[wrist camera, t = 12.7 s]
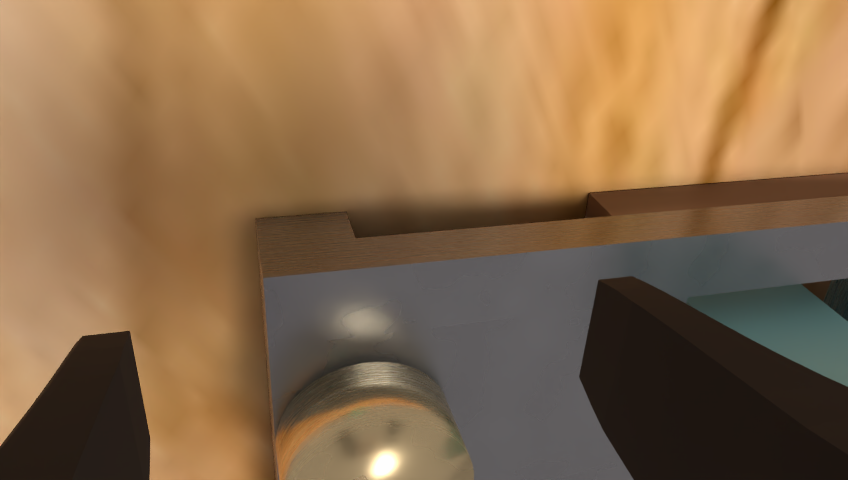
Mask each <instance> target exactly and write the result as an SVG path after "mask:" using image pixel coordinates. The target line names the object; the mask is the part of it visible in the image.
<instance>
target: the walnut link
mask: <svg viewBox="0 0 848 480" xmlns="http://www.w3.org/2000/svg"><path fill="white" fill-rule="evenodd" d="M838 196H848V173H842V174H829V175H816V176H803V177H791V178H778V179H765V180H752V181H739V182H726V183H713V184H700V185H687V186H674V187H661V188H649V189H636V190H623V191H610V192H597V193H589V197H588V203H587V208H586V214H585V218H595V217H606V216H618V215H629V214H641V213H653V212H664V211H676V210H687V209H699V208H710V207H722V206H734V205H745V204H757V203H768V202H780V201H791V200H803V199H814V198H826V197H838ZM830 282H831V280H829V281H821V282H812V283H804V284H802V285H803V286H804V287H805V288H807V289H808V290H809V291H810V292H812V293H813V294H814V295H815V296H817V297H818V298H819V299H820V300H822V301H823V300H824V297H825V295H826V292H827V290H828V287H829V285H830Z"/></svg>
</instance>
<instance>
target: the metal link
mask: <svg viewBox="0 0 848 480" xmlns="http://www.w3.org/2000/svg"><path fill="white" fill-rule="evenodd" d="M256 232H257V245H258V258H259V271H260V284H261V297H262V310H263V324H264V337H265V350H266V363H267V376H268V389H269V402H270V415H271V428H272V441H273V454H274V467H275V480H634V479H633V478H632V476H631V475H630V473H629V472H628V470H627V468H626V467H625V465H624V464H623V462H622V460H621V459H620V457H619V455H618V454H617V452H616V451H615V449H614V447H613V446H612V444H611V443H610V441H609V439H608V438H607V436H606V434H605V433H604V431H603V429H602V427H601V425H600V423H599V421H598V419H597V417H596V414H595V412H594V410H593V408H592V406H591V404H590V401H589V399H588V397H587V394H586V392H585V390H584V387H583V385H582V383H581V380H580V378H579V374H580V369H581V364H582V359H583V354H584V349H585V344H586V339H587V334H588V329H589V324H590V319H591V314H592V309H593V304H594V299H595V294H596V289H597V284H598V280H601V279H610V278H619V277H628V276H633V277H635V278H637V279H640V280H642V281H644V282H646V283H648V284H650V285H652V286H654V287H656V288H658V289H660V290H662V291H664V292H666V293H667V294H669V295H671V296H673V297H675V298H677V299H679V300H680V301H682V302H684V303H687V299H688V297H695V296H704V295H712V294H720V293H729V292H737V291H745V290H754V289H762V288H771V287H779V286H787V285H796V284H804V283H812V282H821V281H829V280H831V282H830V285H829V287H828V290H827V292H826V295H825V297H824V300H823V302H824V303H825V304H827V305H828V306H829V307H830V308H831V309H833V310H834V311H835V312H836V313H838V314H839V315H840V316H841V317H843V318H844V319H845V320H846V321H848V196H838V197H826V198H814V199H803V200H791V201H780V202H768V203H757V204H745V205H734V206H722V207H710V208H699V209H687V210H676V211H664V212H653V213H641V214H629V215H618V216H606V217H595V218H583V219H572V220H560V221H548V222H537V223H525V224H514V225H502V226H491V227H479V228H468V229H456V230H444V231H433V232H421V233H410V234H398V235H387V236H375V237H363V238H355V235H354V232H353V230H352V227H351V224H350V221H349V218H348V215H347V213H346V212H339V213H326V214H313V215H300V216H287V217H274V218H261V219H256Z"/></svg>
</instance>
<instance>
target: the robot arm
mask: <svg viewBox="0 0 848 480" xmlns="http://www.w3.org/2000/svg"><path fill="white" fill-rule="evenodd" d="M579 378H580V380H581V383H582V385H583V387H584V390H585V392H586V394H587V397H588V399H589V401H590V404H591V406H592V408H593V410H594V412H595V414H596V417H597V419H598V421H599V423H600V425H601V427H602V429H603V431H604V433H605V434H606V436H607V438H608V439H609V441H610V443H611V444H612V446H613V447H614V449H615V451H616V452H617V454H618V455H619V457H620V459H621V460H622V462H623V464H624V465H625V467H626V468H627V470H628V472H629V473H630V475H631V476H632V478H633V479H634V480H848V387H847V386H845V385H843V384H841V383H839V382H836V381H834V380H832V379H830V378H827V377H825V376H823V375H821V374H819V373H817V372H815V371H813V370H811V369H809V368H807V367H805V366H803V365H801V364H799V363H796V362H794V361H792V360H790V359H788V358H786V357H784V356H782V355H780V354H778V353H776V352H774V351H772V350H771V349H769V348H767V347H765V346H763V345H761V344H759V343H757V342H755V341H753V340H751V339H750V338H748V337H746V336H744V335H742V334H740V333H738V332H737V331H735V330H733V329H731V328H729V327H727V326H726V325H724V324H722V323H720V322H718V321H717V320H715V319H713V318H711V317H709V316H707V315H706V314H704V313H702V312H700V311H698V310H697V309H695V308H693V307H691V306H689V305H688V304H686V303H684V302H682V301H680V300H679V299H677V298H675V297H673V296H671V295H669V294H667V293H666V292H664V291H662V290H660V289H658V288H656V287H654V286H652V285H650V284H648V283H646V282H644V281H642V280H640V279H637V278H635V277H633V276H628V277H619V278H610V279H601V280H598V284H597V289H596V294H595V299H594V304H593V309H592V314H591V319H590V324H589V329H588V334H587V339H586V344H585V349H584V354H583V359H582V364H581V369H580V374H579ZM149 474H150V435H149V430H148V425H147V419H146V414H145V409H144V404H143V398H142V393H141V388H140V383H139V377H138V372H137V367H136V362H135V357H134V351H133V346H132V341H131V336H130V331H124V332H115V333H106V334H97V335H88V336H82V337H81V338H80V340H79V341H78V342H77V343H76V344H75V345H74V347H73V348H72V349H71V351H70V352H69V354H68V355H67V357H66V358H65V360H64V361H63V363H62V364H61V365H60V367H59V368H58V370H57V371H56V373H55V374H54V376H53V377H52V378H51V380H50V381H49V383H48V384H47V385H46V387H45V388H44V389H43V391H42V392H41V394H40V395H39V396H38V398H37V399H36V400H35V402H34V403H33V405H32V406H31V407H30V409H29V410H28V411H27V412H26V414H25V415H24V416H23V418H22V419H21V420H20V422H19V423H18V424H17V425H16V427H15V428H14V429H13V431H12V432H11V433H10V434H9V436H8V437H7V438H6V440H5V441H4V442H3V443H2V445H1V446H0V480H149Z"/></svg>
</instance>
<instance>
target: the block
mask: <svg viewBox="0 0 848 480" xmlns="http://www.w3.org/2000/svg"><path fill="white" fill-rule="evenodd" d="M686 304H688V305H689V306H691V307H693V308H695V309H697V310H698V311H700V312H702V313H704V314H706V315H707V316H709V317H711V318H713V319H715V320H717V321H718V322H720V323H722V324H724V325H726V326H727V327H729V328H731V329H733V330H735V331H737V332H738V333H740V334H742V335H744V336H746V337H748V338H750V339H751V340H753V341H755V342H757V343H759V344H761V345H763V346H765V347H767V348H769V349H771V350H772V351H774V352H776V353H778V354H780V355H782V356H784V357H786V358H788V359H790V360H792V361H794V362H796V363H799V364H801V365H803V366H805V367H807V368H809V369H811V370H813V371H815V372H817V373H819V374H821V375H823V376H825V377H827V378H830V379H832V380H834V381H836V382H839V383H841V384H843V385H845V386H847V387H848V321H846V320H845V319H844V318H843V317H841V316H840V315H839V314H838V313H836V312H835V311H834V310H833V309H831V308H830V307H829V306H828V305H827V304H825V303H824V302H823V301H822V300H820V299H819V298H818V297H817V296H815V295H814V294H813V293H812V292H810V291H809V290H808V289H807V288H805V287H804V286H803V285H802V284H796V285H787V286H779V287H771V288H762V289H754V290H745V291H737V292H729V293H720V294H712V295H704V296H695V297H688V299H687V303H686Z"/></svg>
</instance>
